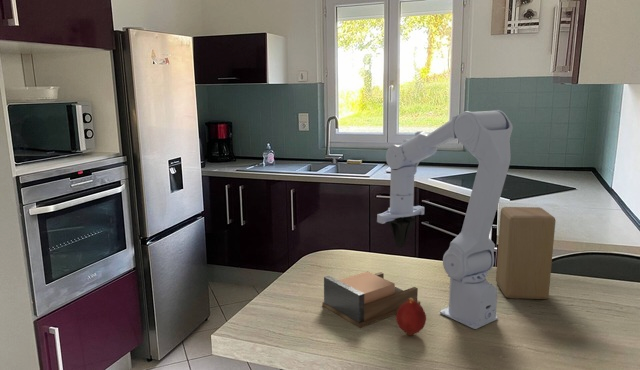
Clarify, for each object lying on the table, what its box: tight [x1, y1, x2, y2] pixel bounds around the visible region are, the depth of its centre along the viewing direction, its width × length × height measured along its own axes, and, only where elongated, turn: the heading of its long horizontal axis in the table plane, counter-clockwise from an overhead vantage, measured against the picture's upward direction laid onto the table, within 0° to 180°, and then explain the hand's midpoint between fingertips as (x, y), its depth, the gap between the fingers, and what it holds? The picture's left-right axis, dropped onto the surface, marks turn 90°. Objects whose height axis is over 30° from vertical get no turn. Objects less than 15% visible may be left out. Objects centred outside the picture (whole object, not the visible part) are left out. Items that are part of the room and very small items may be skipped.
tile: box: [338, 271, 396, 304], centre depth 110 cm, size 9×10×3 cm
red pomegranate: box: [395, 298, 427, 336], centre depth 98 cm, size 6×6×8 cm
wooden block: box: [495, 206, 557, 300], centre depth 117 cm, size 10×10×20 cm
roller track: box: [321, 271, 421, 328], centre depth 112 cm, size 13×18×7 cm
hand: (400, 246), depth 124 cm, fingers closed
